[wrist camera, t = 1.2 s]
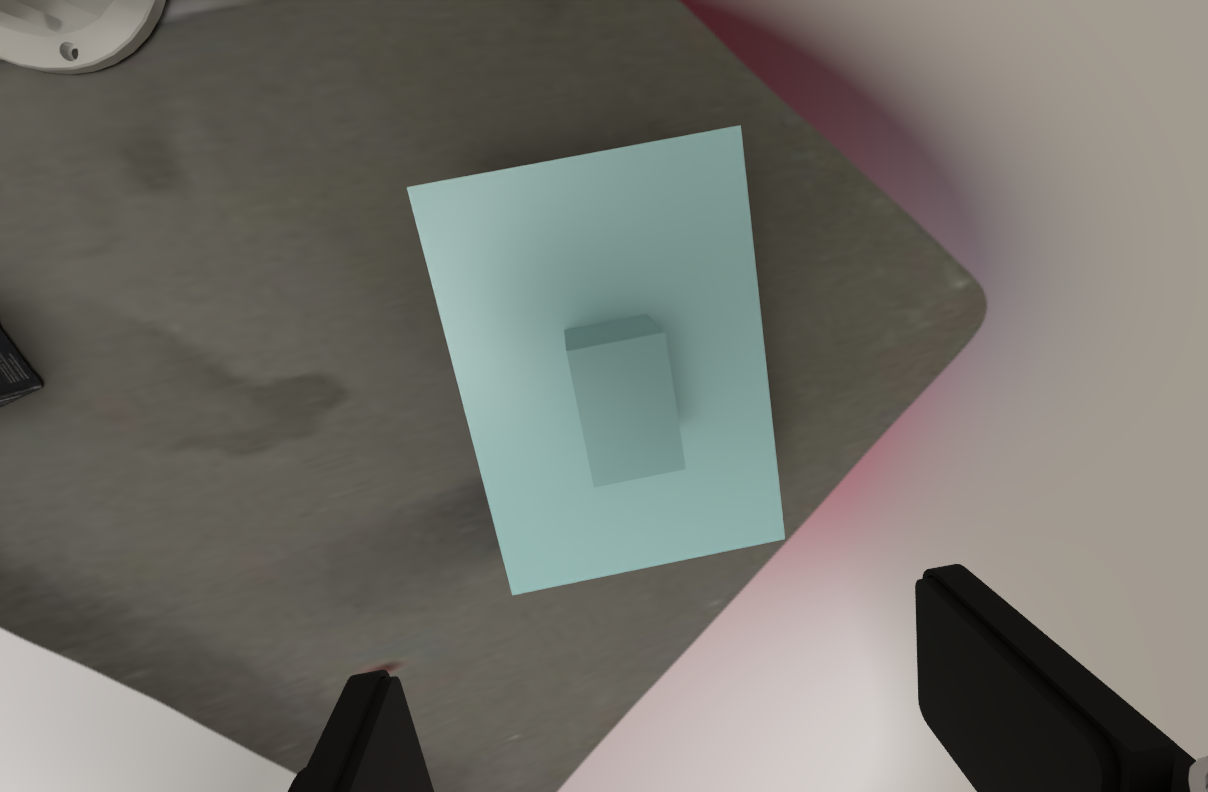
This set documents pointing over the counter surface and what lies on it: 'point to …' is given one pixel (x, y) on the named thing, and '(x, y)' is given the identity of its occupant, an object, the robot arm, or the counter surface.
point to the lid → (609, 354)
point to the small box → (14, 373)
